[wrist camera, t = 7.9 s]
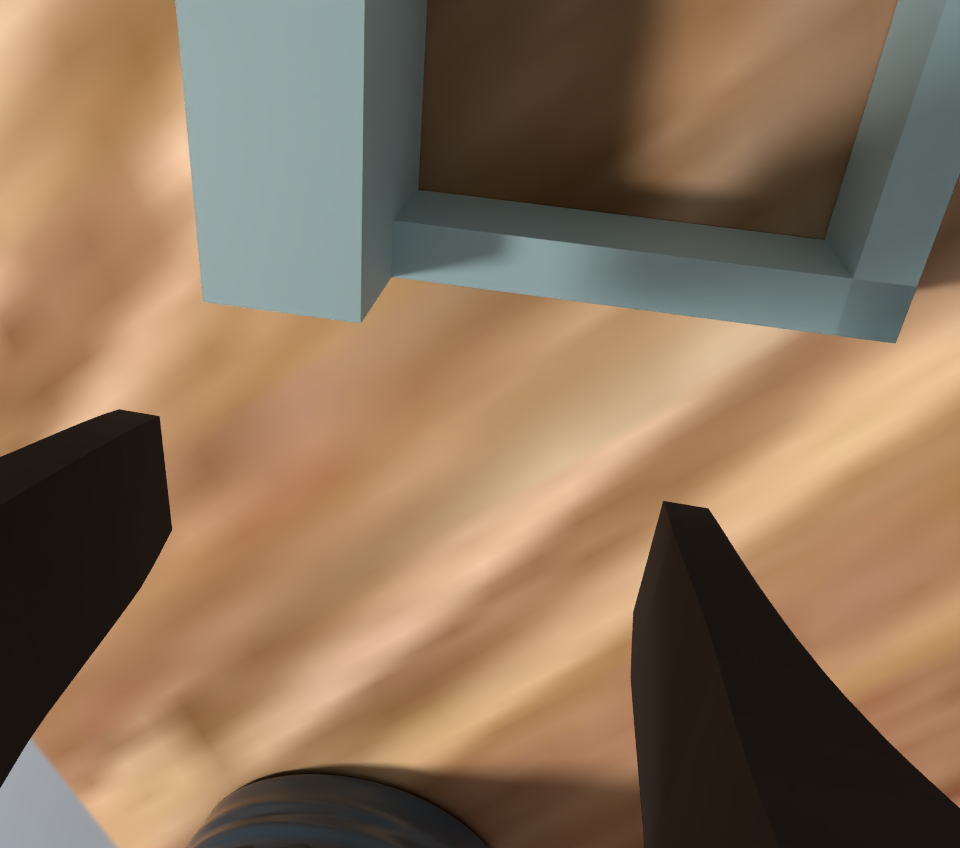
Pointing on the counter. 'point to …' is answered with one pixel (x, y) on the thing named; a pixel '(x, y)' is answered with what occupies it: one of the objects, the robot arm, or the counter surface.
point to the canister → (329, 817)
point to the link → (515, 225)
